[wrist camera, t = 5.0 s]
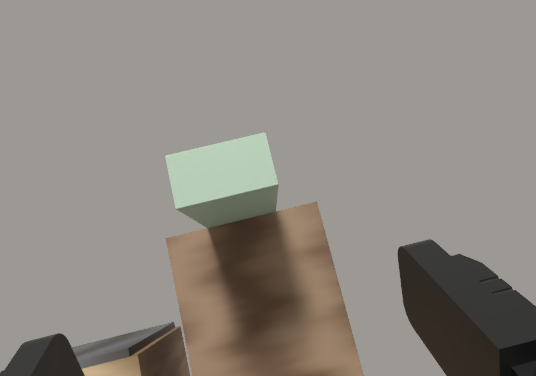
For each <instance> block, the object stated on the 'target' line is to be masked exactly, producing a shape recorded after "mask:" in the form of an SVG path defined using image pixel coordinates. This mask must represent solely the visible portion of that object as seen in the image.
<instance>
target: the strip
mask: <svg viewBox="0 0 536 376" xmlns="http://www.w3.org/2000/svg"><path fill="white" fill-rule="evenodd" d="M165 158H166V163H167V168H168V172H169V177H170V183H171V188H172V192H173V197H174V202H175V207H176V209H177V210H179V211H180V212H182V213H184V214H186V215H187V216H189V217H190V218H192V219H193V220H195V221H197V222H198V223H200V224H202V225H203V226H205V227H207V228H211V227H215V226H219V225H223V224H227V223H231V222H235V221H239V220H244V219H248V218H252V217H256V216H260V215H264V214H268V213H272V212H276V203H277V193H278V181H277V177H276V173H275V169H274V165H273V161H272V157H271V154H270V149H269V145H268V141H267V137H266V133H265V132H264V133H260V134H256V135H252V136H247V137H243V138H239V139H235V140H231V141H226V142H222V143H218V144H214V145H209V146H205V147H201V148H196V149H192V150H188V151H184V152H179V153H175V154H171V155H167V156H165Z"/></svg>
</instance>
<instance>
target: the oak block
mask: <svg viewBox="0 0 536 376" xmlns="http://www.w3.org/2000/svg"><path fill="white" fill-rule="evenodd" d="M72 350H73V352H74V354H75V356H76V358H77V360H78V362H79V364H80V367H81V369H82V371H83V373H84V375H85V376H190V373H189V368H188V363H187V358H186V352H185V348H184V342H183V337H182V332H181V327H180V326H179V327H175V325H174V322H172V323H168V324H164V325H160V326H156V327H152V328H148V329H144V330H140V331H136V332H132V333H128V334H124V335H120V336H116V337H112V338H108V339H104V340H100V341H96V342H93V343H88V344H84V345H80V346H76V347H72Z"/></svg>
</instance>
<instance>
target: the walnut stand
mask: <svg viewBox="0 0 536 376" xmlns="http://www.w3.org/2000/svg"><path fill="white" fill-rule="evenodd" d="M166 242H167V248H168V253H169V258H170V263H171V267H172V273H173V278H174V283H175V288H176V294H177V299H178V304H179V309H180V314H181V319H182V324H183V329H184V335H185V340H186V345H187V350H188V355H189V360H190V365H191V371H192V375H193V376H364V375H363V371H362V367H361V364H360V360H359V356H358V353H357V349H356V345H355V342H354V338H353V334H352V330H351V327H350V323H349V319H348V315H347V312H346V308H345V304H344V301H343V297H342V293H341V289H340V286H339V282H338V278H337V275H336V271H335V267H334V264H333V260H332V256H331V253H330V249H329V245H328V241H327V238H326V234H325V230H324V227H323V223H322V219H321V216H320V212H319V208H318V205H317V202H313V203H310V204H306V205H301V206H298V207H293V208H289V209H285V210H281V211H276V212H272V213H268V214H264V215H260V216H256V217H252V218H248V219H244V220H239V221H235V222H231V223H227V224H223V225H219V226H215V227H211V228H207V229H203V230H199V231H194V232H190V233H186V234H182V235H178V236H174V237H170V238H166Z"/></svg>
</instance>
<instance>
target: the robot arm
mask: <svg viewBox="0 0 536 376" xmlns="http://www.w3.org/2000/svg"><path fill="white" fill-rule="evenodd" d="M398 262H399V269H400V278H401V287H402V295H403V303H404V307H405V311H406V314H407V316H408V319H409V321H410V323H411V325H412V327H413V328H414V330H415V331H416V333H417V334H418V335H419V337H420V338H421V340H422V341H423V343H424V344H425V345H426V347H427V348H428V350H429V351H430V353H431V354H432V355H433V357H434V358H435V360H436V361H437V363H438V364H439V365H440V367H441V368H442V369H443V371H444V373H445V374H446V375H447V376H536V306H534V305H533V304H532V303H531V302H530V301H528V300H527V299H526V298H524V297H523V296H522V295H521V294H520V293H518V292H517V291H516V290H514V291H513V289H512V287H511V286H510V285H509V284H507V283H506V282H505V281H504V280H502V279H499V278H498V276H497V275H496V274H495V273H494V272H492V271H491V270H490V269H489V268H487V267H486V266H485V265H484V264H483V263H481V262H478V261H476V260H473V259H471V258H468V257H466V256H463V255H461V254H458V255H454V256H450V255H448V253H446V251H444V250H443V249H442V248H441V247H440V246H439V245H438V244H437V243H435V242H434V241H433V240H426V241H422V242H418V243H413V244H409V245H405V246H401V247H399V249H398ZM0 376H85V375H84V373H83V371H82V369H81V367H80V364H79V362H78V360H77V358H76V356H75V354H74V352H73V350H72V348H71V345H70V343H69V341H68V340H67V338H66V337H65V336H64V335H63V334H55V335H51V336H47V337H43V338H39V339H35V340H31V341H27V342H25V343H23V344H22V345H21V346H20V348H19V349H18V351H17V353H16V354H15V355H14V357H13V358H12V360H11V361H10V363H9V364H8V366H7V367H6V369H5V370H4V371H2V372H1V373H0Z"/></svg>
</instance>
